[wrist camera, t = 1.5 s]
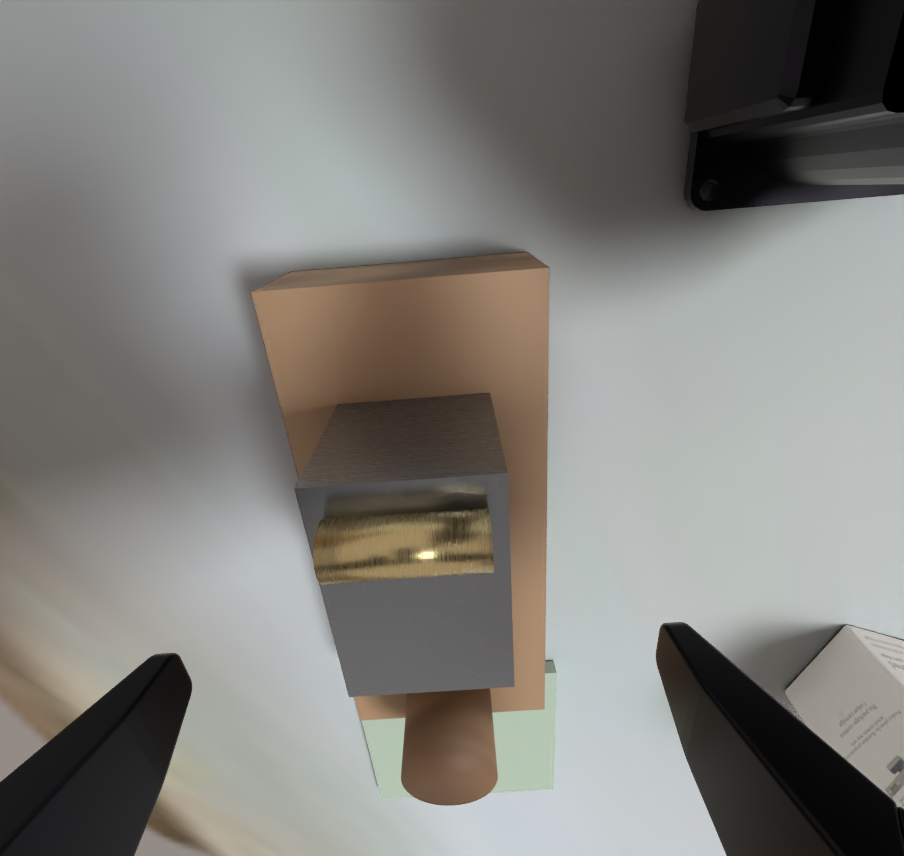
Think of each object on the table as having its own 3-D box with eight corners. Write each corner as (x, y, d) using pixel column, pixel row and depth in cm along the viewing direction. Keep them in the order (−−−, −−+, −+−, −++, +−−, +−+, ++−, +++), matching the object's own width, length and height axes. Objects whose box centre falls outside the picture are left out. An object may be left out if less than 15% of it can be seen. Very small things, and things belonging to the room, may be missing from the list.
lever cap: (490, 392, 13) (514, 504, 8) (498, 569, 15) (520, 728, 11) (337, 404, 13) (277, 521, 8) (371, 578, 15) (341, 739, 11)
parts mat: (553, 660, 22) (556, 672, 21) (551, 776, 26) (553, 789, 25) (355, 673, 22) (352, 685, 21) (382, 786, 26) (381, 798, 25)
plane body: (528, 252, 14) (582, 291, 8) (531, 638, 21) (561, 799, 16) (290, 271, 14) (190, 323, 9) (371, 649, 21) (345, 811, 16)
